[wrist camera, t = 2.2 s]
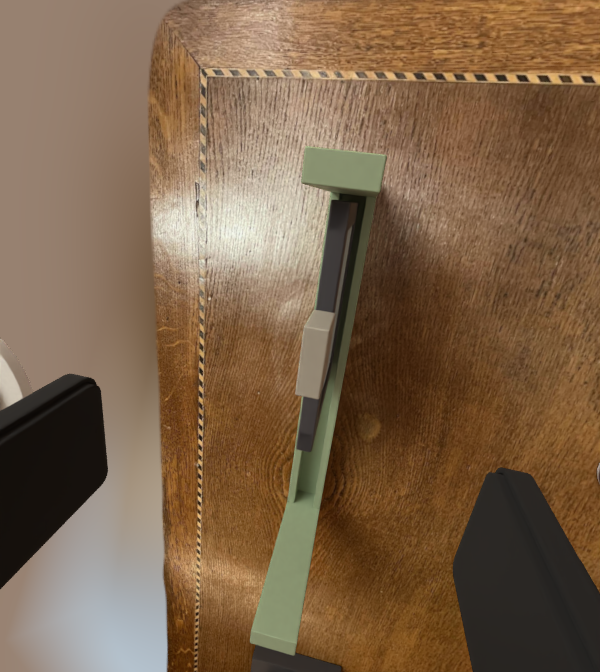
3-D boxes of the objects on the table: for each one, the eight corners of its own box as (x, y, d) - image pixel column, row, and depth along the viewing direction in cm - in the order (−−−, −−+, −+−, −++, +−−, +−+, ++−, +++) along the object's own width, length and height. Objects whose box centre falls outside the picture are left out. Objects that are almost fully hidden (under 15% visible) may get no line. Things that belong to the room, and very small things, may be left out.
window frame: (292, 489, 34) (249, 643, 22) (337, 173, 25) (304, 145, 13) (321, 496, 34) (294, 656, 22) (379, 178, 24) (387, 154, 12)
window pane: (319, 367, 28) (283, 483, 16) (345, 200, 24) (320, 198, 12) (332, 370, 28) (305, 488, 16) (360, 202, 23) (350, 202, 12)
